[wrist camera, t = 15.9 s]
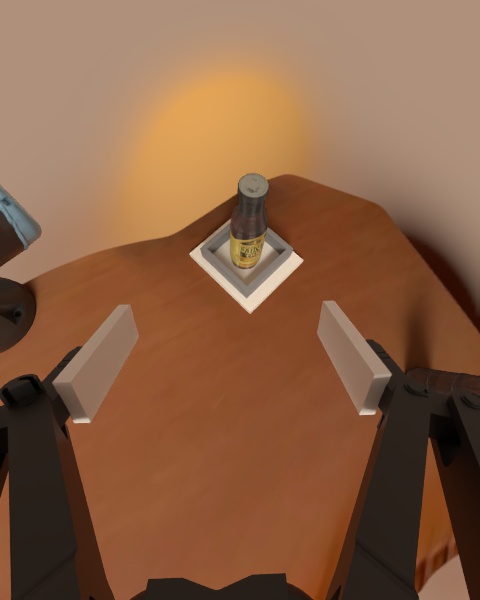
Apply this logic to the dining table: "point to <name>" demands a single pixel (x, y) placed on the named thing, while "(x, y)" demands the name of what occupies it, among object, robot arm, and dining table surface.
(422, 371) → the butter churn
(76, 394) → the robot arm
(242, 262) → the sauce bottle
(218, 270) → the bottle stand
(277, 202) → the dining table surface
